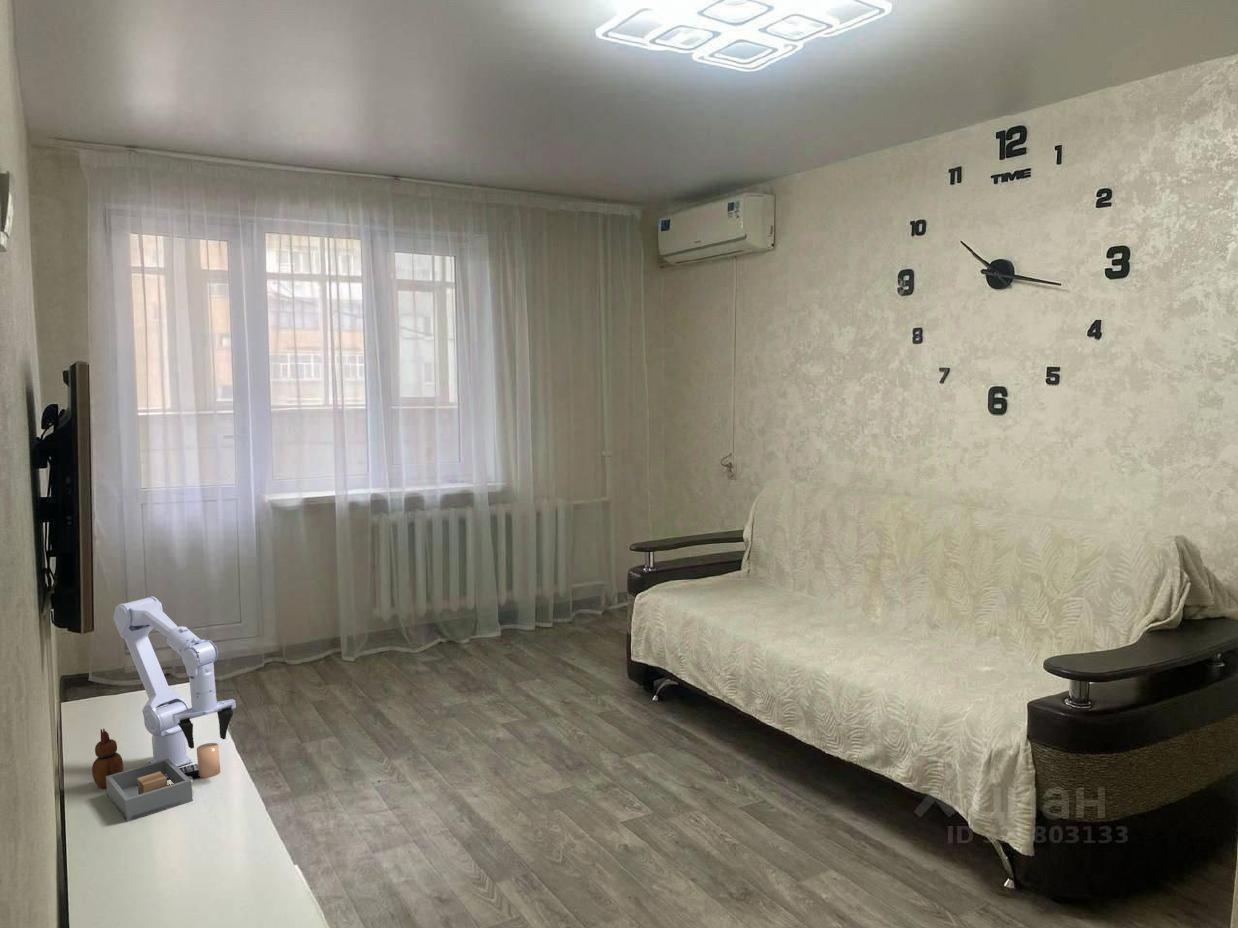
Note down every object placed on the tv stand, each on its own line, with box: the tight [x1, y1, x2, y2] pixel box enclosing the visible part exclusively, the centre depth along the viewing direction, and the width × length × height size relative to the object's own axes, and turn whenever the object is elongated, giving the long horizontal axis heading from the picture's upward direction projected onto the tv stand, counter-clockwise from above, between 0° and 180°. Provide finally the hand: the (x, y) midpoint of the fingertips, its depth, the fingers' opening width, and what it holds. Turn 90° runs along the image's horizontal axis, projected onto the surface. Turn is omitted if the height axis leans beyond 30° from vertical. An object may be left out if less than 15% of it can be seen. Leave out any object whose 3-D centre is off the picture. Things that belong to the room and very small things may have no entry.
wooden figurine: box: [91, 728, 124, 789], centre depth 221 cm, size 7×6×15 cm
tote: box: [106, 759, 194, 823], centre depth 213 cm, size 18×14×5 cm
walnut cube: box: [137, 772, 167, 795], centre depth 211 cm, size 5×5×5 cm
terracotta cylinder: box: [196, 742, 221, 779], centre depth 226 cm, size 5×5×7 cm
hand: (207, 742), depth 225 cm, fingers open, 7 cm apart
